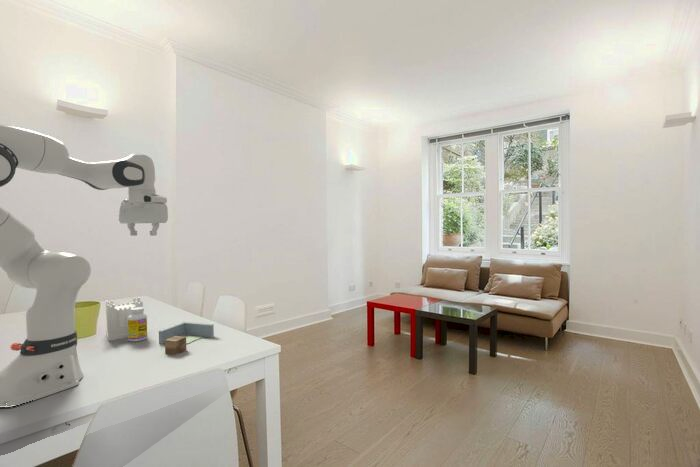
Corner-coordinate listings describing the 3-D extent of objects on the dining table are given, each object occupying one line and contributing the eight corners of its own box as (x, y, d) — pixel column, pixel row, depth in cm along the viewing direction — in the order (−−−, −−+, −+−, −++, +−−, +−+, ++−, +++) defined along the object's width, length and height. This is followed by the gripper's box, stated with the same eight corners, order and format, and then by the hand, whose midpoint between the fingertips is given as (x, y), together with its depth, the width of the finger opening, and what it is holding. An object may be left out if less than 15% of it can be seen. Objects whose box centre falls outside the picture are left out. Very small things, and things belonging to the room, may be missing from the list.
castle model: (107, 341, 145) (106, 305, 145) (106, 332, 157) (105, 299, 157) (144, 334, 153) (143, 301, 152) (140, 326, 165) (139, 295, 164)
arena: (189, 347, 136) (189, 334, 136) (158, 343, 141) (158, 330, 141) (213, 336, 149) (213, 324, 149) (184, 333, 154) (184, 321, 154)
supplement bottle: (138, 342, 142) (137, 310, 142) (124, 341, 144) (123, 310, 143) (151, 337, 149) (150, 306, 149) (137, 336, 150) (136, 306, 150)
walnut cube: (176, 355, 129) (175, 341, 128) (165, 353, 130) (164, 340, 130) (186, 350, 133) (186, 336, 133) (175, 348, 135) (175, 335, 135)
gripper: (113, 199, 134) (114, 235, 134) (156, 197, 128) (157, 235, 128) (128, 200, 140) (129, 235, 141) (170, 198, 134) (171, 235, 134)
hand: (143, 235), depth 134 cm, fingers open, 8 cm apart
